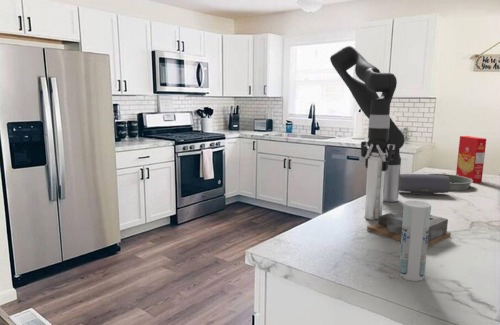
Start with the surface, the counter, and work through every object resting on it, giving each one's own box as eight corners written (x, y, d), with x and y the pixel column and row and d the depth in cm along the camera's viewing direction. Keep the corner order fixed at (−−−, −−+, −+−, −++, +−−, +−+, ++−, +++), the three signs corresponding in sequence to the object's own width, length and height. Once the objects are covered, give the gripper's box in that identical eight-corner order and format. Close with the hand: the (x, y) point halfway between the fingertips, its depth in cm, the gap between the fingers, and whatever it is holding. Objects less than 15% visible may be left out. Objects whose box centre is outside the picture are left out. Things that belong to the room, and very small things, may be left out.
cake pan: (471, 193, 186) (472, 185, 185) (418, 187, 199) (419, 179, 198) (472, 184, 207) (473, 176, 206) (424, 179, 219) (425, 171, 219)
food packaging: (455, 177, 224) (459, 136, 220) (463, 177, 224) (468, 136, 220) (472, 182, 209) (477, 138, 205) (481, 182, 210) (486, 138, 206)
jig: (366, 230, 133) (368, 213, 132) (394, 220, 144) (395, 204, 143) (423, 249, 117) (425, 229, 116) (450, 236, 128) (452, 218, 126)
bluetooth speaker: (443, 192, 188) (445, 173, 186) (449, 197, 179) (451, 177, 177) (396, 190, 192) (397, 171, 190) (400, 195, 183) (401, 175, 181)
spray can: (397, 268, 103) (402, 199, 100) (422, 271, 101) (428, 201, 98) (399, 279, 97) (405, 206, 94) (426, 283, 95) (433, 208, 92)
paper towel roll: (382, 216, 149) (386, 155, 144) (380, 221, 143) (385, 157, 138) (365, 214, 151) (369, 154, 147) (363, 219, 145) (367, 156, 141)
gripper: (357, 125, 144) (354, 167, 147) (390, 128, 133) (387, 173, 136) (368, 125, 149) (366, 165, 152) (401, 127, 137) (398, 171, 140)
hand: (376, 169), depth 144 cm, fingers closed on paper towel roll, 6 cm apart
